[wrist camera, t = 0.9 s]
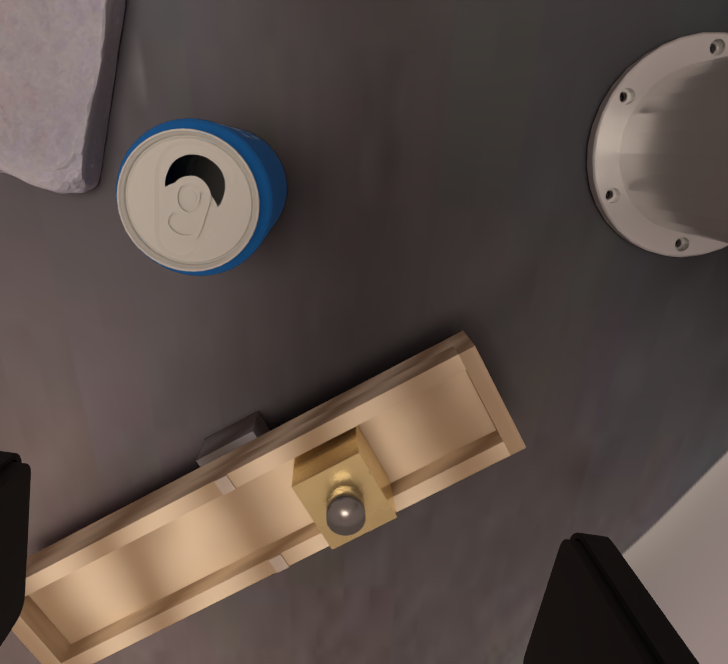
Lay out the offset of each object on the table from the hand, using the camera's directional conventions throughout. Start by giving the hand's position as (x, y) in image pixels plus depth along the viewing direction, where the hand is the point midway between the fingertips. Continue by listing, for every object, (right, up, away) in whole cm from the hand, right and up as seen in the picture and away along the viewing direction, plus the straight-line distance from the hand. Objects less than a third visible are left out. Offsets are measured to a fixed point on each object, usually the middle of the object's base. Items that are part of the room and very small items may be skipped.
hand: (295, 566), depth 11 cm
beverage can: (-7, +13, +26) cm, 29 cm away
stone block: (-17, +19, +23) cm, 35 cm away
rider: (0, -4, +26) cm, 26 cm away
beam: (-6, -5, +31) cm, 32 cm away
